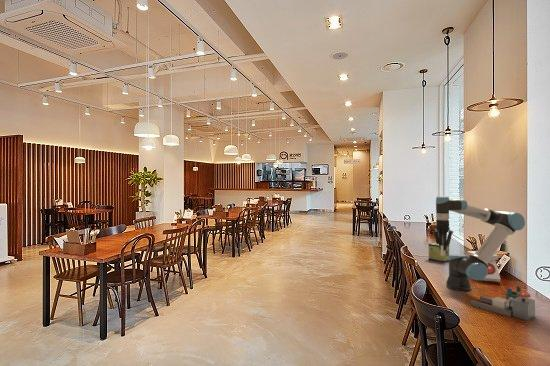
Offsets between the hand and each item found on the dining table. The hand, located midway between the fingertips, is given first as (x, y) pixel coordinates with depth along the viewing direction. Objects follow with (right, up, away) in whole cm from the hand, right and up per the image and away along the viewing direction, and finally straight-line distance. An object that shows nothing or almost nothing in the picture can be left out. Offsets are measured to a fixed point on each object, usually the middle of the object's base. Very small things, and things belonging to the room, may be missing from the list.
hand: (443, 255), depth 202 cm
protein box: (+46, -27, +91) cm, 106 cm away
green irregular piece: (+38, -26, -12) cm, 48 cm away
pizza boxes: (+52, -26, +36) cm, 69 cm away
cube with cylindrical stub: (+21, -26, -24) cm, 41 cm away
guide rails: (+19, -26, -21) cm, 39 cm away
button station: (+26, -26, -32) cm, 49 cm away
